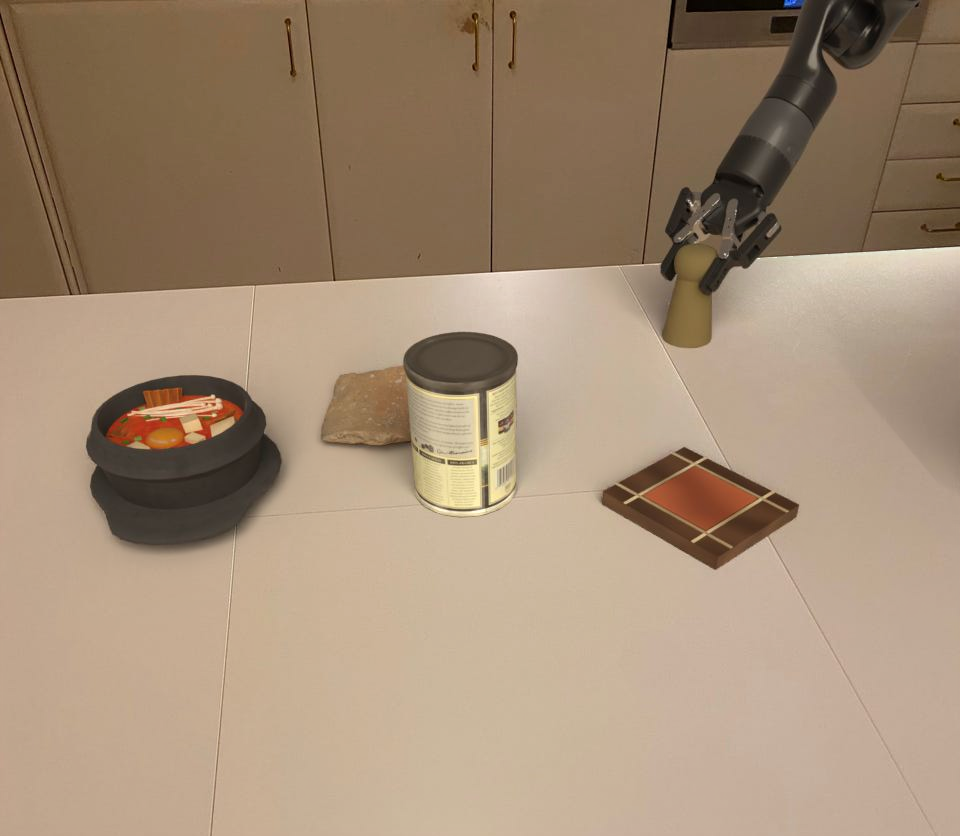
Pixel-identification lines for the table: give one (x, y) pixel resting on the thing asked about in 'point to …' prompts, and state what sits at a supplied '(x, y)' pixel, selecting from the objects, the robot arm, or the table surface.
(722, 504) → the grid board
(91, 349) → the table surface
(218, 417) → the casserole
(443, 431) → the coffee can
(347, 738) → the table surface
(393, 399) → the stone
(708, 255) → the pawn
